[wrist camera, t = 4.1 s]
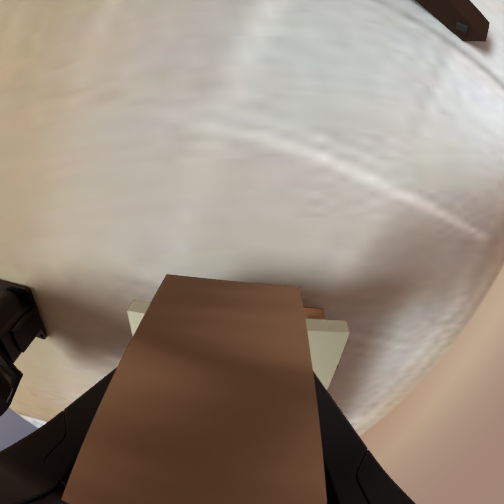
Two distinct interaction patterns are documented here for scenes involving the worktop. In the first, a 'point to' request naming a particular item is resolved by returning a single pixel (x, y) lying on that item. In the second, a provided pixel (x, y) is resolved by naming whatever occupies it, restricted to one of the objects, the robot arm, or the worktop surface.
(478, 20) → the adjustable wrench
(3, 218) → the worktop surface
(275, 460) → the brown stepped square block
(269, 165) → the worktop surface
